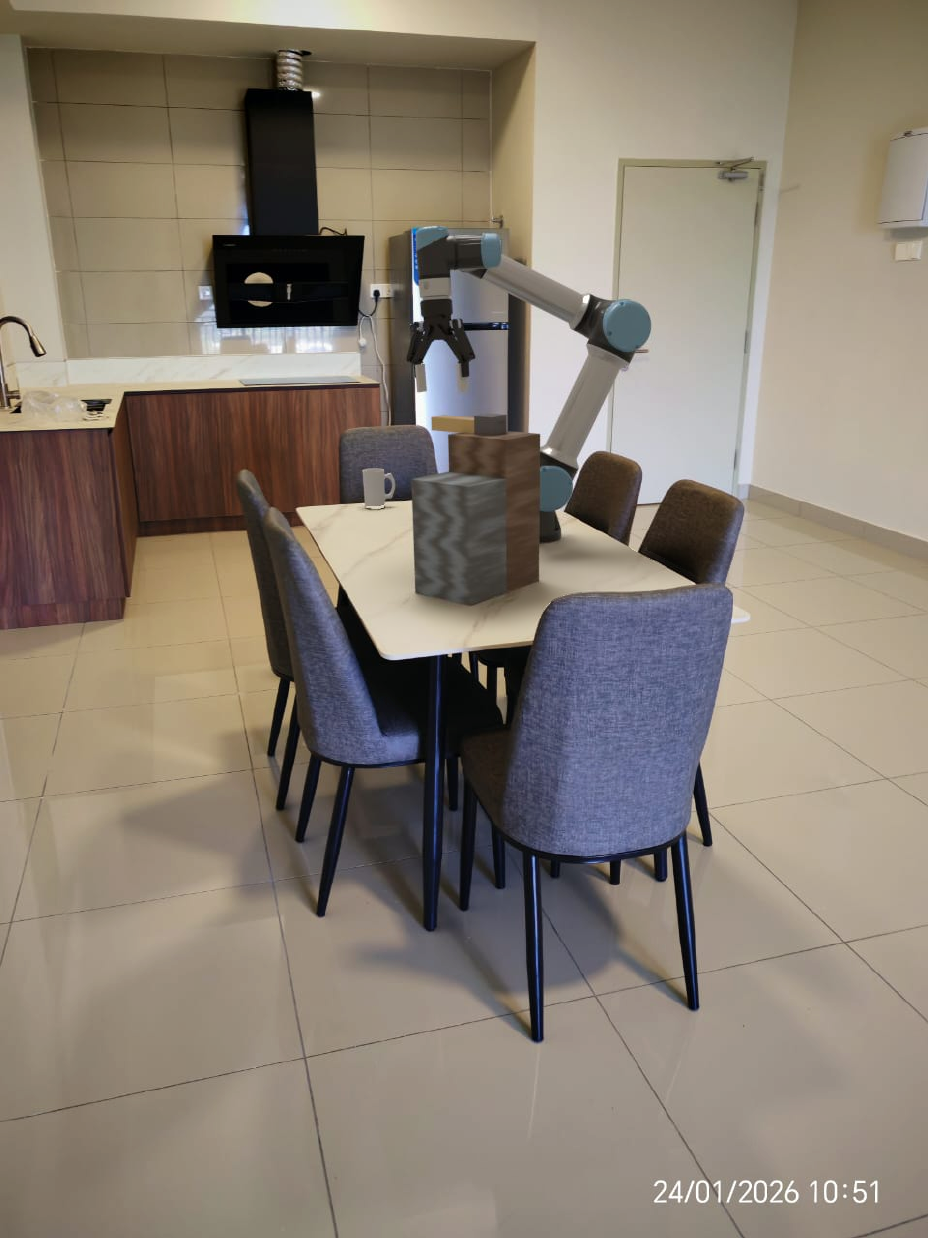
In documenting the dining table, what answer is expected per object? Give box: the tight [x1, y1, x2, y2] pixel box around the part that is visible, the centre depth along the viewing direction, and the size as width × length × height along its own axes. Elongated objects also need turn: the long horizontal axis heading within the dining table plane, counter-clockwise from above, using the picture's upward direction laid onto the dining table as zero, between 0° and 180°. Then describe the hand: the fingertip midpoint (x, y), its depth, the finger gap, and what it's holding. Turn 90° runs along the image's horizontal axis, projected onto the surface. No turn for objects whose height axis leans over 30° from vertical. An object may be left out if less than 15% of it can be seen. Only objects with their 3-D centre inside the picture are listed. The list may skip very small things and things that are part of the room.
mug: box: [362, 467, 396, 507], centre depth 291 cm, size 10×7×12 cm, turn 95°
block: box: [431, 413, 508, 436], centre depth 205 cm, size 18×5×4 cm, turn 49°
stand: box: [410, 430, 541, 607], centre depth 202 cm, size 16×24×33 cm, turn 139°
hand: (442, 391), depth 222 cm, fingers open, 13 cm apart
